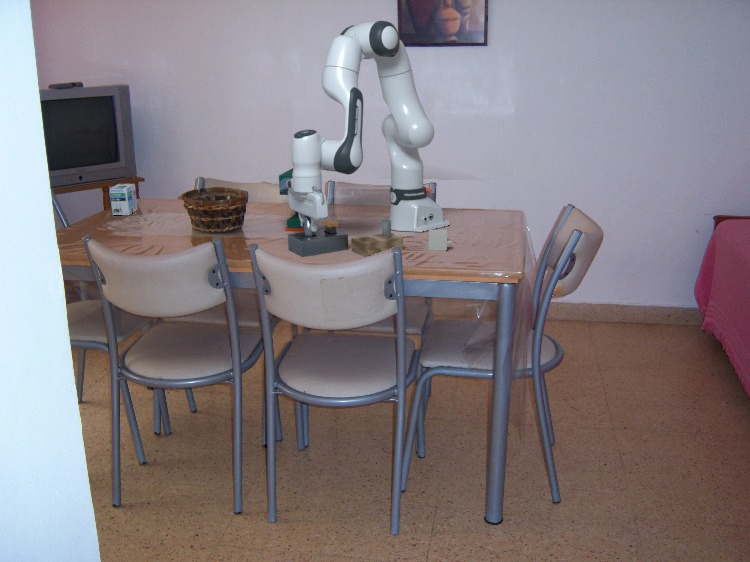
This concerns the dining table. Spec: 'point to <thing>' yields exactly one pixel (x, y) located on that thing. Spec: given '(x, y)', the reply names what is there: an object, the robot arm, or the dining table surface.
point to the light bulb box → (123, 199)
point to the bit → (308, 227)
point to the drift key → (330, 226)
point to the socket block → (317, 243)
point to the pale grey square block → (438, 240)
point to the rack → (376, 241)
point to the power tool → (294, 221)
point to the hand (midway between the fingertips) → (308, 228)
